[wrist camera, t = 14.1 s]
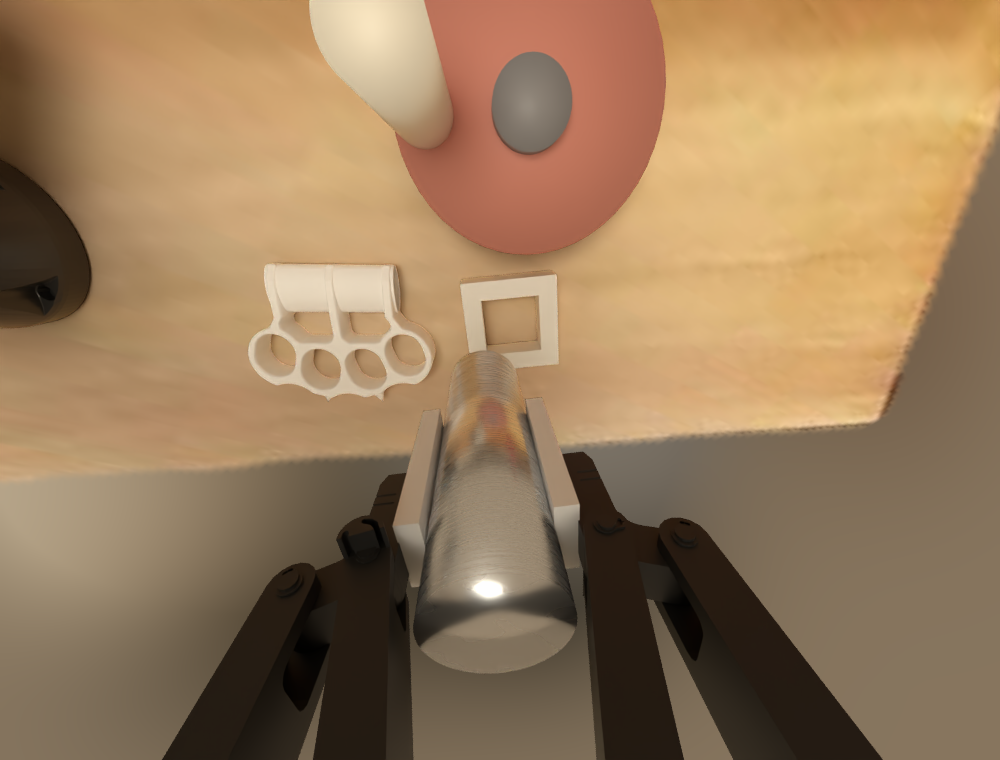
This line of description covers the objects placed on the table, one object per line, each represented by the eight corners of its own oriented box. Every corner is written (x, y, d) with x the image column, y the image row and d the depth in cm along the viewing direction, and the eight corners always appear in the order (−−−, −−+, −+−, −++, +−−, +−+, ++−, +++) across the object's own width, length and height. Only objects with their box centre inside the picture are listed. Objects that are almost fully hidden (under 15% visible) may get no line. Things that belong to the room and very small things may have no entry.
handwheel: (634, 247, 29) (752, 272, 16) (415, 256, 29) (362, 288, 16) (672, -67, 22) (944, -470, 9) (375, -62, 21) (212, -483, 8)
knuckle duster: (430, 263, 35) (438, 394, 41) (242, 260, 34) (279, 395, 40) (425, 267, 32) (435, 408, 38) (219, 265, 31) (263, 410, 37)
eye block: (472, 361, 39) (472, 372, 36) (461, 279, 35) (459, 284, 33) (553, 353, 39) (558, 364, 37) (551, 269, 35) (556, 274, 33)
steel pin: (456, 413, 22) (429, 681, 9) (446, 354, 20) (396, 585, 8) (519, 406, 22) (577, 663, 10) (515, 346, 20) (576, 563, 8)
